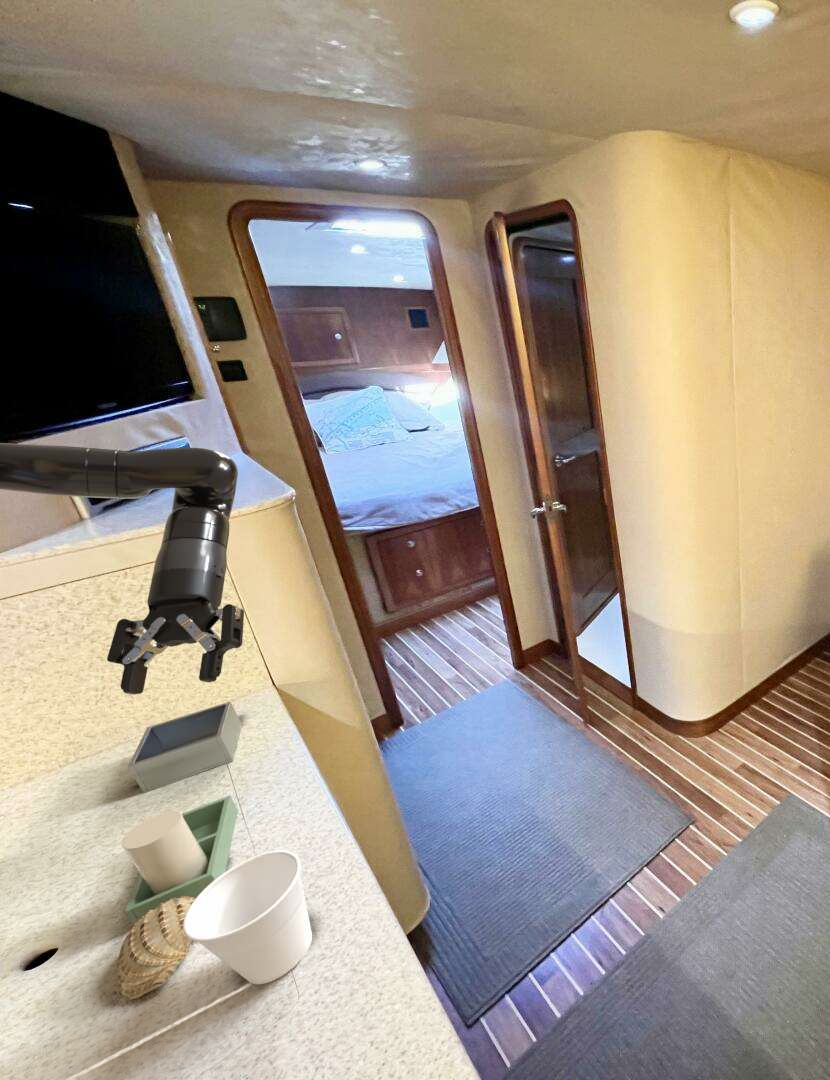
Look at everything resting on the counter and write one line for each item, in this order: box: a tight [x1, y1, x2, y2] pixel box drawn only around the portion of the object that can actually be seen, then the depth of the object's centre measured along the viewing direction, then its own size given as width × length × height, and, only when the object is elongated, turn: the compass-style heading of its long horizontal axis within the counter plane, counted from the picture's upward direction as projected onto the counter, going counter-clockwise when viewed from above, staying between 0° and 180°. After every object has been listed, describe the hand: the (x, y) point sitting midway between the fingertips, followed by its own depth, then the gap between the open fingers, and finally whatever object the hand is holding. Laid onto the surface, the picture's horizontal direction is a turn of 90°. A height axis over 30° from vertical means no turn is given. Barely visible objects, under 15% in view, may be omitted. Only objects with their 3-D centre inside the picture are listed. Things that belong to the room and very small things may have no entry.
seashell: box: [116, 896, 196, 1002], centre depth 61 cm, size 8×6×10 cm
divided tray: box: [124, 795, 239, 926], centre depth 72 cm, size 8×15×4 cm, turn 34°
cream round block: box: [121, 810, 210, 896], centre depth 68 cm, size 5×5×10 cm
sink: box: [127, 701, 243, 794], centre depth 92 cm, size 11×11×6 cm
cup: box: [183, 849, 313, 985], centre depth 59 cm, size 10×10×11 cm
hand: (170, 687), depth 72 cm, fingers open, 8 cm apart
